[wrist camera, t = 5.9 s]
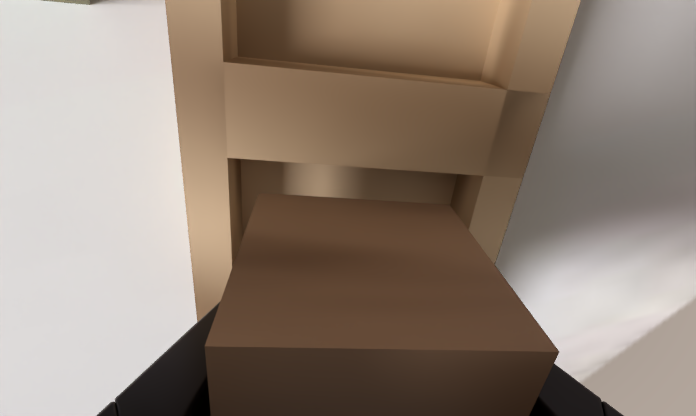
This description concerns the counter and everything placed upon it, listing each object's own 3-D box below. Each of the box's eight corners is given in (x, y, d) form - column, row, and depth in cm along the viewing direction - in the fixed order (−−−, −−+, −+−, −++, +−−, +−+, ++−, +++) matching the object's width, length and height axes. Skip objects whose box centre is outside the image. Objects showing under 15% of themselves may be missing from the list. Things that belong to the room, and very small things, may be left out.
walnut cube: (415, 342, 11) (474, 530, 7) (259, 340, 10) (222, 540, 6) (449, 204, 9) (559, 352, 5) (258, 193, 8) (204, 346, 4)
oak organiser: (434, 319, 14) (457, 378, 12) (223, 314, 14) (203, 376, 11) (590, -282, 8) (719, -427, 5) (182, -371, 7) (106, -596, 4)
